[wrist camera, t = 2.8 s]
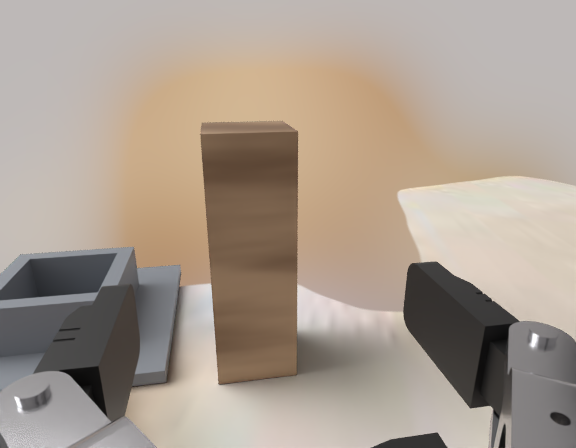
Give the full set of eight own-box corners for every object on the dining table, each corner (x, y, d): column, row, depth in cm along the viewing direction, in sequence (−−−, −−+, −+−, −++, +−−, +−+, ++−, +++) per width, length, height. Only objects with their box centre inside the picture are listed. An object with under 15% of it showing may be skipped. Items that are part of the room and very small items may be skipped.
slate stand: (6, 287, 35) (-6, 242, 33) (181, 273, 37) (176, 230, 36) (-114, 415, 22) (-142, 350, 20) (166, 382, 24) (158, 321, 23)
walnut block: (217, 337, 28) (201, 122, 23) (283, 330, 29) (282, 120, 24) (218, 384, 24) (200, 134, 19) (296, 374, 25) (297, 131, 20)
